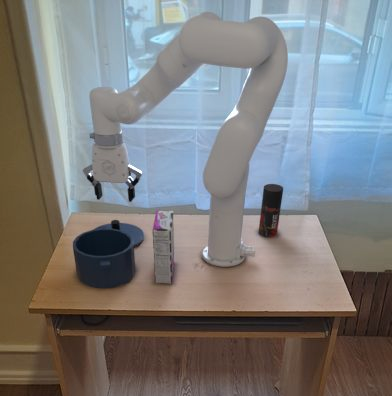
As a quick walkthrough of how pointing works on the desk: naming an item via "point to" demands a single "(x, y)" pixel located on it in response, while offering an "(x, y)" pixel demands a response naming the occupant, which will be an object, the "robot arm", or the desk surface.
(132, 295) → the desk surface
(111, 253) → the pot
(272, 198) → the deodorant
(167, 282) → the candy bar box
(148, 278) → the desk surface
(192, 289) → the desk surface
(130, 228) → the pot lid
